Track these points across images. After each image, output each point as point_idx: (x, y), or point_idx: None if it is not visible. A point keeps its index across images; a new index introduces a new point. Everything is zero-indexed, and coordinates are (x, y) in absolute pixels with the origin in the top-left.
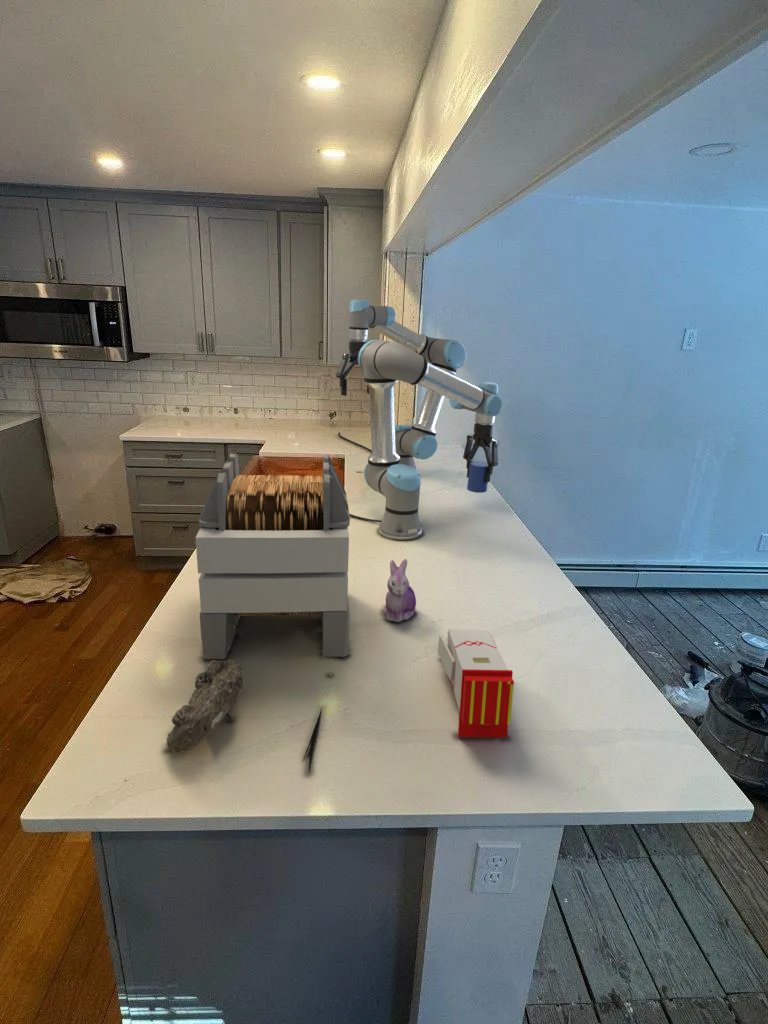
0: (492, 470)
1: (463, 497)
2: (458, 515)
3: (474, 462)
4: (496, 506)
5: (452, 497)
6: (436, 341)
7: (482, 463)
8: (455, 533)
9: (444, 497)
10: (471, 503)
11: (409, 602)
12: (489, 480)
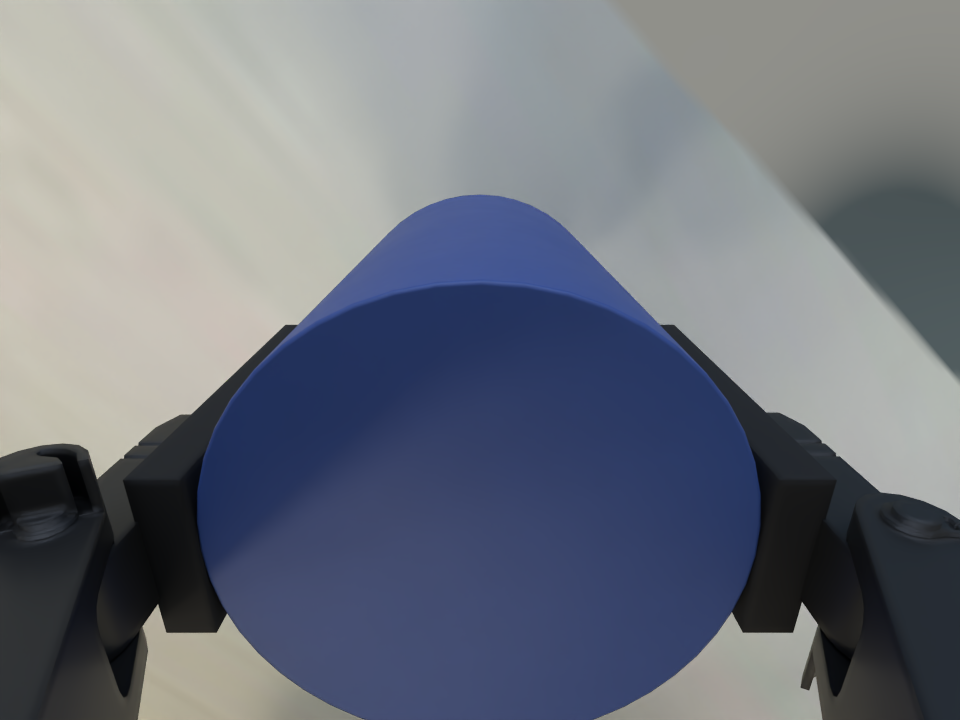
0: (841, 462)
1: (218, 123)
2: None
3: (282, 543)
4: (612, 80)
5: (167, 220)
6: None
7: (486, 453)
8: (682, 715)
9: (134, 282)
10: (397, 216)
11: None
12: (679, 339)
